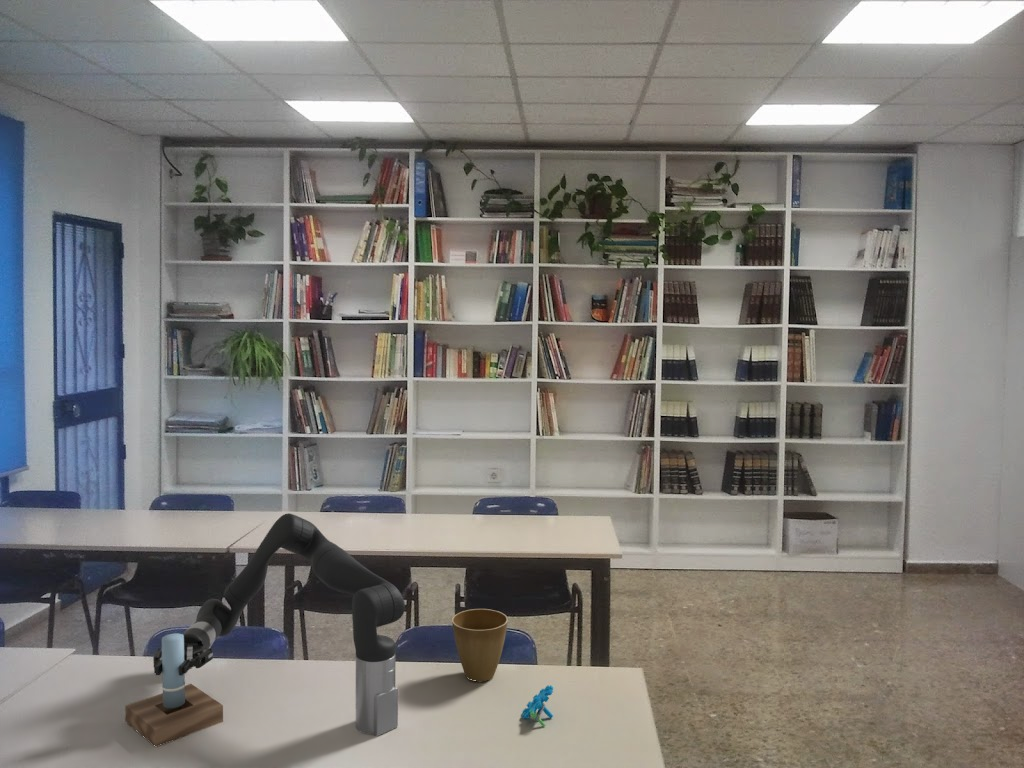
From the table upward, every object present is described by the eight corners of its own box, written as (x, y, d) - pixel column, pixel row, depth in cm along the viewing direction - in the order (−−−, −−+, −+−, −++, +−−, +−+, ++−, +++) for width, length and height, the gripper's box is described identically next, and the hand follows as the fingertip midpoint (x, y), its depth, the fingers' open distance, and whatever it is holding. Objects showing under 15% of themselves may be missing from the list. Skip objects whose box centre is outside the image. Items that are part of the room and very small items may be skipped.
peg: (189, 703, 191) (188, 637, 189) (168, 710, 187) (166, 643, 186) (179, 696, 194) (178, 631, 193) (158, 703, 191) (157, 637, 189)
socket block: (223, 721, 191) (222, 705, 191) (155, 747, 180) (155, 729, 179) (191, 699, 202) (191, 683, 202) (125, 722, 190) (125, 705, 190)
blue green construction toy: (527, 697, 202) (554, 676, 199) (543, 715, 202) (570, 694, 198) (513, 724, 192) (541, 702, 188) (530, 742, 192) (559, 721, 188)
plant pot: (457, 663, 226) (458, 607, 225) (510, 666, 224) (511, 610, 223) (445, 686, 211) (446, 627, 210) (502, 691, 209) (503, 631, 208)
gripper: (166, 627, 204) (137, 655, 187) (224, 627, 204) (199, 656, 187) (167, 655, 204) (137, 687, 187) (224, 656, 205) (200, 687, 188)
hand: (168, 671), depth 187 cm, fingers closed on peg, 4 cm apart
